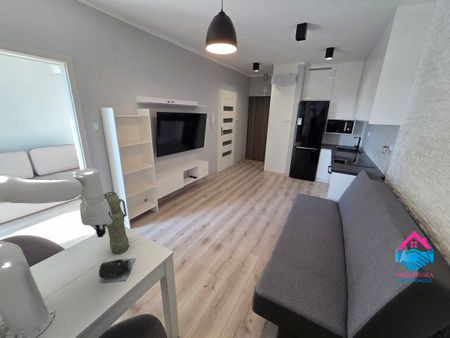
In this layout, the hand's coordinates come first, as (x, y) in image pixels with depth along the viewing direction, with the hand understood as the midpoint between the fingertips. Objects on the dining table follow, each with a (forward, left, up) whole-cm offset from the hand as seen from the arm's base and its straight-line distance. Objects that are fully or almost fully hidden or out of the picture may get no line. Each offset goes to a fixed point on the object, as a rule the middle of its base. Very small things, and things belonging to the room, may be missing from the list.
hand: (101, 235), depth 80 cm
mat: (+2, -3, -23) cm, 23 cm away
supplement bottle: (-1, +3, -19) cm, 20 cm away
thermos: (+17, +2, -23) cm, 29 cm away
